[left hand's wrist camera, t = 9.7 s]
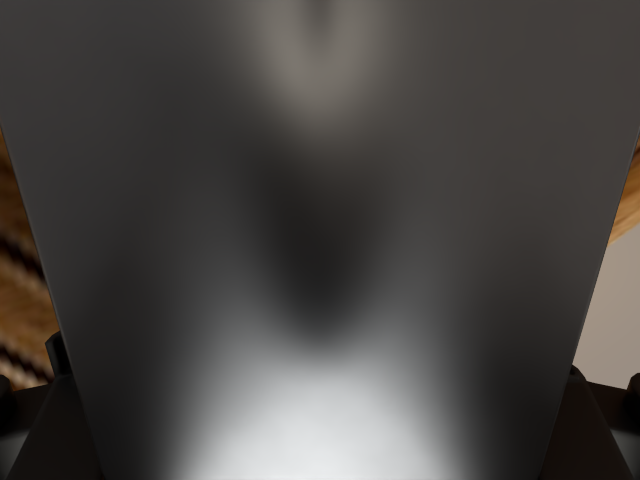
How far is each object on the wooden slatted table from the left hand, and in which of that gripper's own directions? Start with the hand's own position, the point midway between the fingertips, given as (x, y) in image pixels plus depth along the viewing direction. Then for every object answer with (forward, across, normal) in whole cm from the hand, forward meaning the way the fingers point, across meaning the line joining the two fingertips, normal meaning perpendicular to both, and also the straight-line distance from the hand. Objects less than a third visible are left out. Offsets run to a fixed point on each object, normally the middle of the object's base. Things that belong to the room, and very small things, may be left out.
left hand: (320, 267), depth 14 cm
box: (+3, 0, -7) cm, 8 cm away
